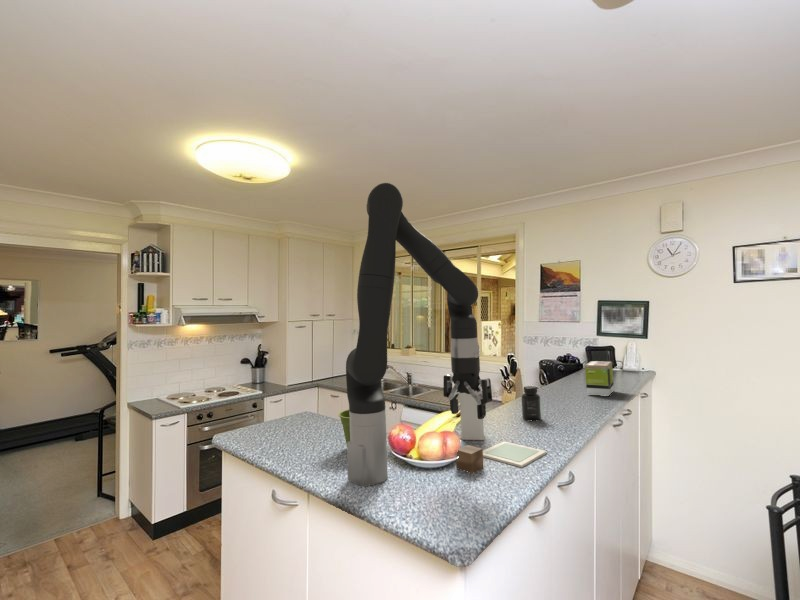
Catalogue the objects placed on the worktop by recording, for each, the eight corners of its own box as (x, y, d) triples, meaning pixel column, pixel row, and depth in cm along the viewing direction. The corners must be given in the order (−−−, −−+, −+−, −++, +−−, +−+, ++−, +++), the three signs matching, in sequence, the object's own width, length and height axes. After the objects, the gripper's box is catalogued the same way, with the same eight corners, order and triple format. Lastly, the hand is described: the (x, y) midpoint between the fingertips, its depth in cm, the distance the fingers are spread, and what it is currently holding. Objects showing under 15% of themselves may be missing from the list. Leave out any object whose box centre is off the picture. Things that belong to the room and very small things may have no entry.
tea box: (592, 390, 200) (590, 360, 201) (614, 391, 194) (612, 361, 195) (586, 395, 188) (584, 364, 189) (609, 397, 182) (608, 365, 183)
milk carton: (483, 440, 127) (481, 381, 128) (461, 440, 128) (459, 381, 129) (483, 434, 134) (481, 377, 135) (462, 433, 135) (460, 377, 136)
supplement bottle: (545, 419, 149) (543, 387, 150) (533, 422, 146) (532, 389, 146) (530, 415, 155) (528, 384, 156) (518, 418, 151) (517, 387, 152)
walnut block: (472, 473, 101) (471, 453, 102) (456, 468, 105) (455, 449, 105) (483, 468, 105) (482, 448, 105) (468, 463, 109) (467, 444, 109)
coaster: (521, 467, 104) (521, 464, 104) (477, 455, 114) (477, 452, 114) (546, 453, 114) (546, 450, 114) (503, 443, 124) (503, 440, 124)
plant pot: (343, 443, 129) (342, 408, 130) (379, 442, 129) (378, 407, 130) (336, 456, 118) (335, 417, 118) (376, 455, 117) (374, 416, 118)
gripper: (435, 355, 109) (438, 414, 108) (479, 357, 99) (482, 423, 98) (452, 352, 114) (455, 409, 113) (495, 354, 104) (498, 417, 103)
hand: (467, 416), depth 106 cm, fingers open, 8 cm apart
